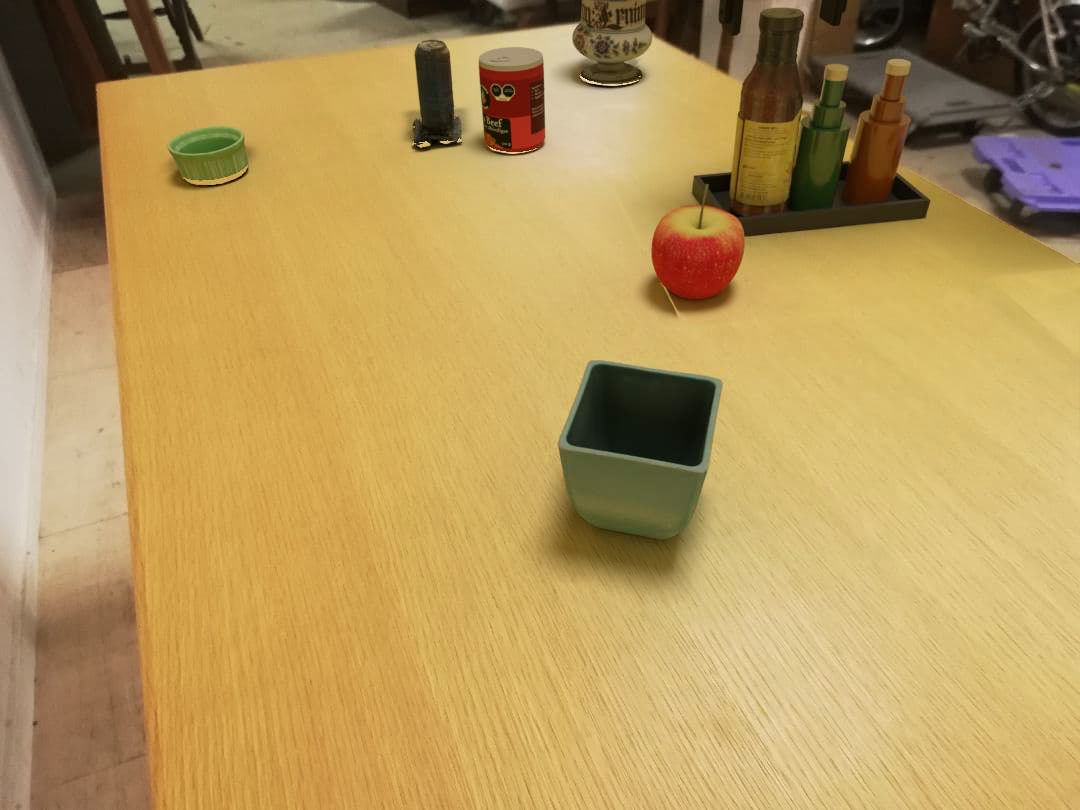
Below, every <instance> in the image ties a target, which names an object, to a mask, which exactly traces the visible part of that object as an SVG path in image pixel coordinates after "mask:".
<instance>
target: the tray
mask: <svg viewBox="0 0 1080 810" xmlns="http://www.w3.org/2000/svg"><path fill="white" fill-rule="evenodd" d="M848 164H849V160H843V163H842V167H841V171H840V176H839V180H838V185H837V189H836V193H835V198H834V202H833V206H832V208H824V209H814V210H804V211H794V210H792V209H790V208H789V207H788V206H787V205H786V207H785V210H784V212H783V213H774V214H764V215H755V216H745V217H740V216H738V215H736V214H735V213H734V212H733V211H732V209H731V208H730V204H729V200H730V195H729V193H730V183H731V174H732V171H728V172H718V173H717V172H716V173H705V174H697V175H696V174H695V175H693V178H692V189H691V194H692V195H693V197H694V198H695V200H696V201H697V203H698V205H702V202H703V196H704V190H705V185H706V184H709V186H708V190H707V194H706V199H705V203H704V205H707V206H712V207H716V208H719V209H722V210H724V211H726V212H728V213H730V214H732V215H734V216H735V217H736V218H737V219H738V220H739V221H740V222H741V224H742V227H743V230H744V237H745V238H747V237H757V236H766V235H777V234H787V233H796V232H805V231H817V230H825V229H835V228H844V227H853V226H855V227H856V226H863V225H875V224H881V223H891V222H892V223H894V222H901V221H902V222H903V221H912V220H920V219H926V217H927V215H928V211H929V208H930V204H931V202H932V200H931V199H930V198H929V197H928V196H927V195H925V194H924V193H923V192H922V191H920V190H919V189H918V188H917V187H915V186H914V185H913V184H912V183H911V182H910V181H908V180H907V179H906V178H904V176H902V175H901V174H900V173H899V172H897V173H896V176H895V180H894V183H893V187H892V191H891V194H890V198H889V201H888V202H883V203H873V204H864V205H854V206H853V205H850V204H848V203H846V202H845V201H844V200H843V199H842V198H841V194H842V189H843V185H844V181H845V177H846V172H847V168H848Z"/></svg>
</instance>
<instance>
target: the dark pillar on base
mask: <svg viewBox="0 0 1080 810" xmlns="http://www.w3.org/2000/svg"><path fill="white" fill-rule="evenodd" d="M414 65H415V73H416V74H415V75H416V83H417V84H416V85H417V93H418V94H417V95H418V102H419V103H418V104H419V112H420V113H419V115H420V118H421V119H420V118H417V117H416V118H415V119H414V121H413V122H412V127H413V126H415V129H414V139H413V140H414V143H416V145H415V144H414V145H413V146H415V147H417V145H420V144H423V143H419V142H425V141H427V142H428V143H430V142H431V141H434V140H437V139H439V140H438V144H439V143H440V141H447V140H448V141H453V143H456V142H455V141H458V139H459V138H460V139H462V136H461V135H462V120H461V116H460V115H459V114H458V115H457V116H456V115H455V101H454V90H453V75H452V63H451V51H450V50H449V47H448V46H447V44H446V42H444V41H443V40H438V39H437V40H436V39H426V40H425V39H424V40H422V41H421V43H417V44H416V47H415V49H414ZM460 129H461V131H460ZM430 139H432V140H430ZM430 144H431V145H432V142H431V143H430Z"/></svg>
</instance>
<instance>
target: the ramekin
mask: <svg viewBox="0 0 1080 810" xmlns="http://www.w3.org/2000/svg"><path fill="white" fill-rule="evenodd" d="M167 150H168V153H169V154H170V155H171V156H172V158H173V160H174V163H175V165H176V166H177V169H178V171H179V174H180V176H181V175H182V176H183V177H185V178H187V179H190V180H199V181H202V180H215V179H220V178H224V177H228V176H231V175H233V174H236V173H238V172H240V171H241V170H243V169H244V168H245V167H246V166H247V164H248V165H249V161H248V154H247V149H246V145H245V133H244V131H242V130H241V129H239V128H238V127H234V126H228V125H227V126H226V125H212V126H211V125H210V126H205V127H199V128H194V129H191V130H187V131H185V132H183V133H180V134H178V135H176V136H174V137H173V138H171V139H170V141H168V143H167ZM182 176H181V177H182Z"/></svg>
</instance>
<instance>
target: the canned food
mask: <svg viewBox="0 0 1080 810" xmlns="http://www.w3.org/2000/svg"><path fill="white" fill-rule="evenodd" d="M544 61H545V60H544V54H543V53H542V51H539V50H538V49H535V48H530V47H523V46H509V47H507V46H505V47H499V48H494V49H490V50H487V51H485V52H483V53H482V54H480V55H479V56H478V76H479V89H480V101H481V114H482V126H483V138H484V142H485V144H487V145H488V146H489V147H491V148H493V149H496V150H500V151H506V152H523V151H529V150H533V149H535V148H538V147H539V146H541V145H542V144H543V145H544V143H545V140H546V108H545V105H546V103H545V101H546V100H545V99H546V98H545V67H544V66H545V65H544V63H545V62H544ZM487 145H486V146H487ZM543 145H542V146H543ZM542 146H541V147H542Z"/></svg>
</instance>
